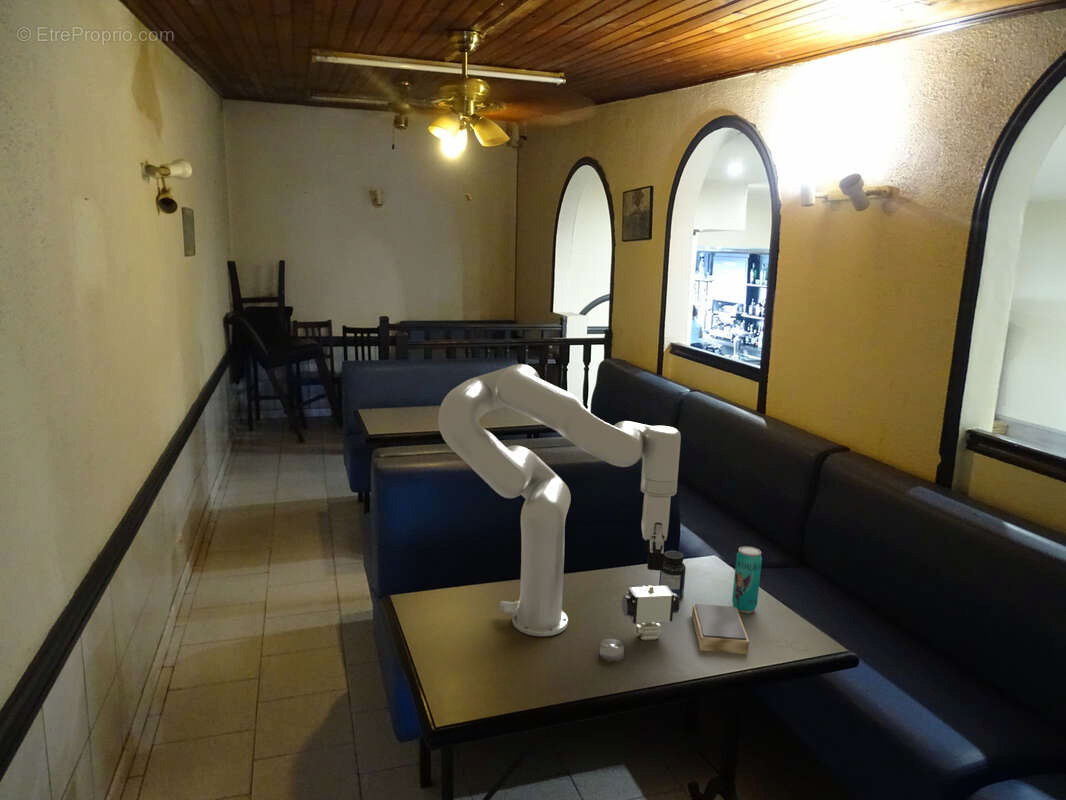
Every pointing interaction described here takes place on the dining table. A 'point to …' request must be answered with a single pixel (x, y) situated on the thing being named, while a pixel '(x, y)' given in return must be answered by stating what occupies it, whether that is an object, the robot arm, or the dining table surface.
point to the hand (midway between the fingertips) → (653, 559)
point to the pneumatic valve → (650, 609)
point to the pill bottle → (673, 573)
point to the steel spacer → (611, 649)
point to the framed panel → (719, 629)
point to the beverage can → (747, 579)
